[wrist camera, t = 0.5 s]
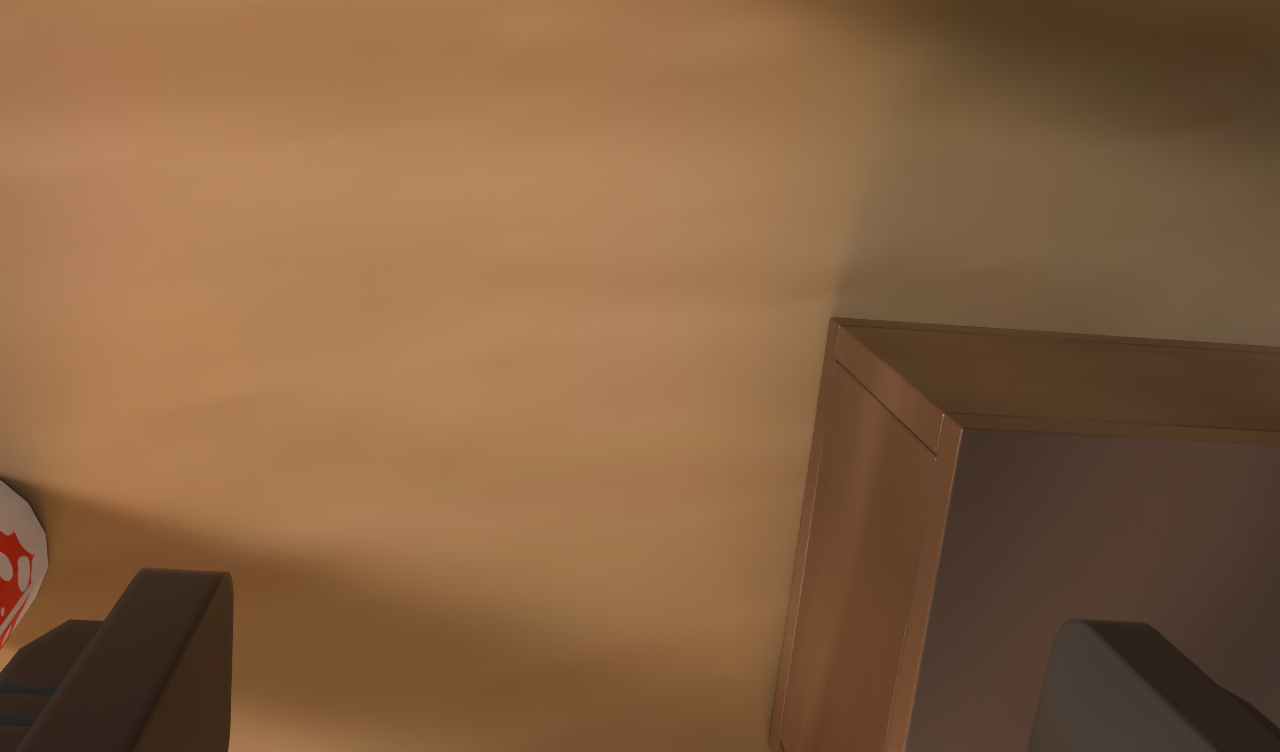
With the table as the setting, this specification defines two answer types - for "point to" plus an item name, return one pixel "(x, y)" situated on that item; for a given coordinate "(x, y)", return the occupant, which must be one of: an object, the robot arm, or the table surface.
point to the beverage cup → (18, 559)
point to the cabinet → (1022, 526)
